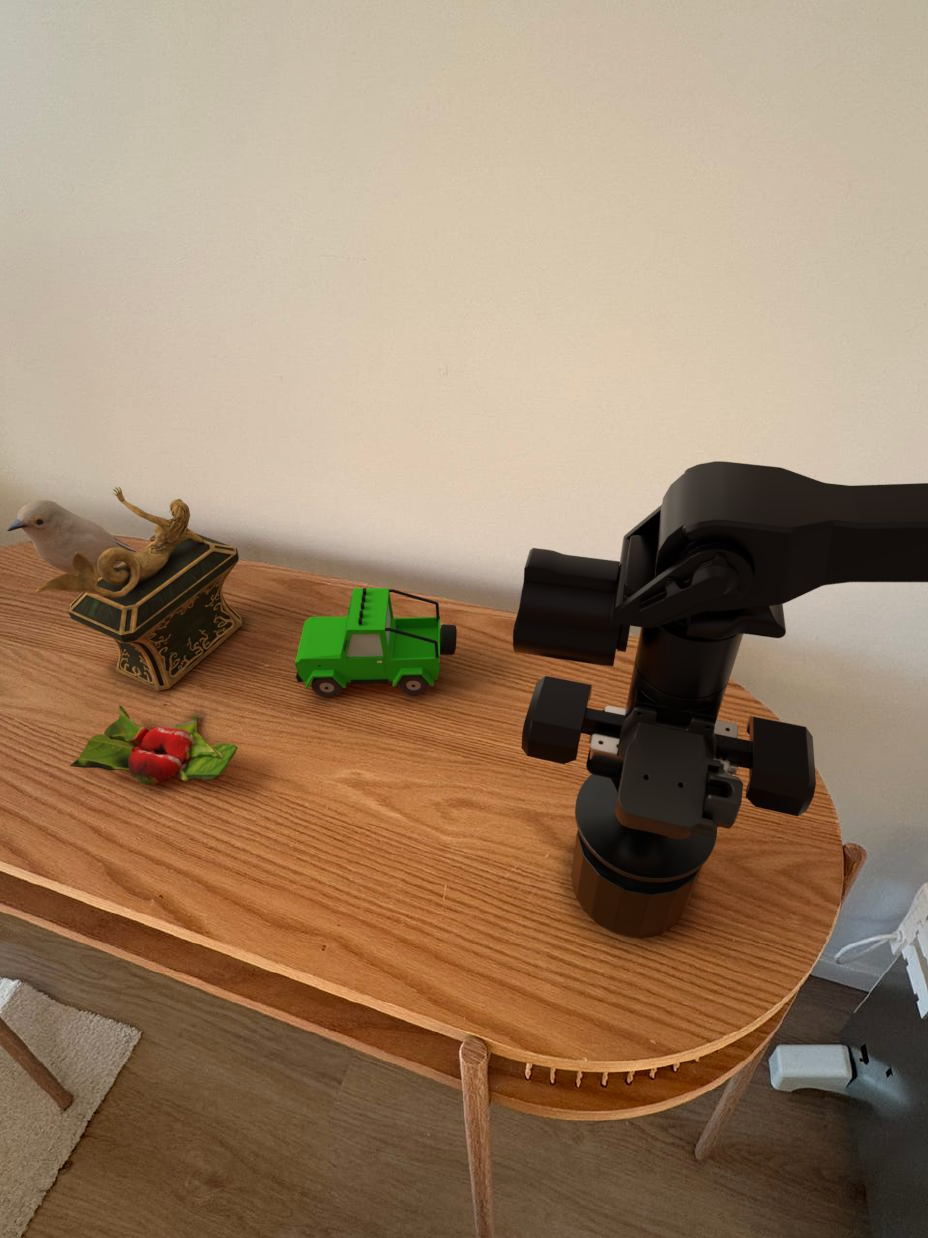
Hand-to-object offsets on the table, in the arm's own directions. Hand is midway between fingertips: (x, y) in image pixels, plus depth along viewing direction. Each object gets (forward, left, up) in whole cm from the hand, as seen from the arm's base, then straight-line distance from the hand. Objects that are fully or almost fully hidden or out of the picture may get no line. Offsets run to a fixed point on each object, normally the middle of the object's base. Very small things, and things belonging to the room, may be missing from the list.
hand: (646, 810), depth 55 cm
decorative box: (+56, +5, -11) cm, 57 cm away
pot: (0, 0, -10) cm, 10 cm away
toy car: (+34, -7, -11) cm, 36 cm away
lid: (0, 0, -1) cm, 1 cm away
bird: (+73, +3, -11) cm, 74 cm away
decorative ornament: (+43, +14, -11) cm, 47 cm away
